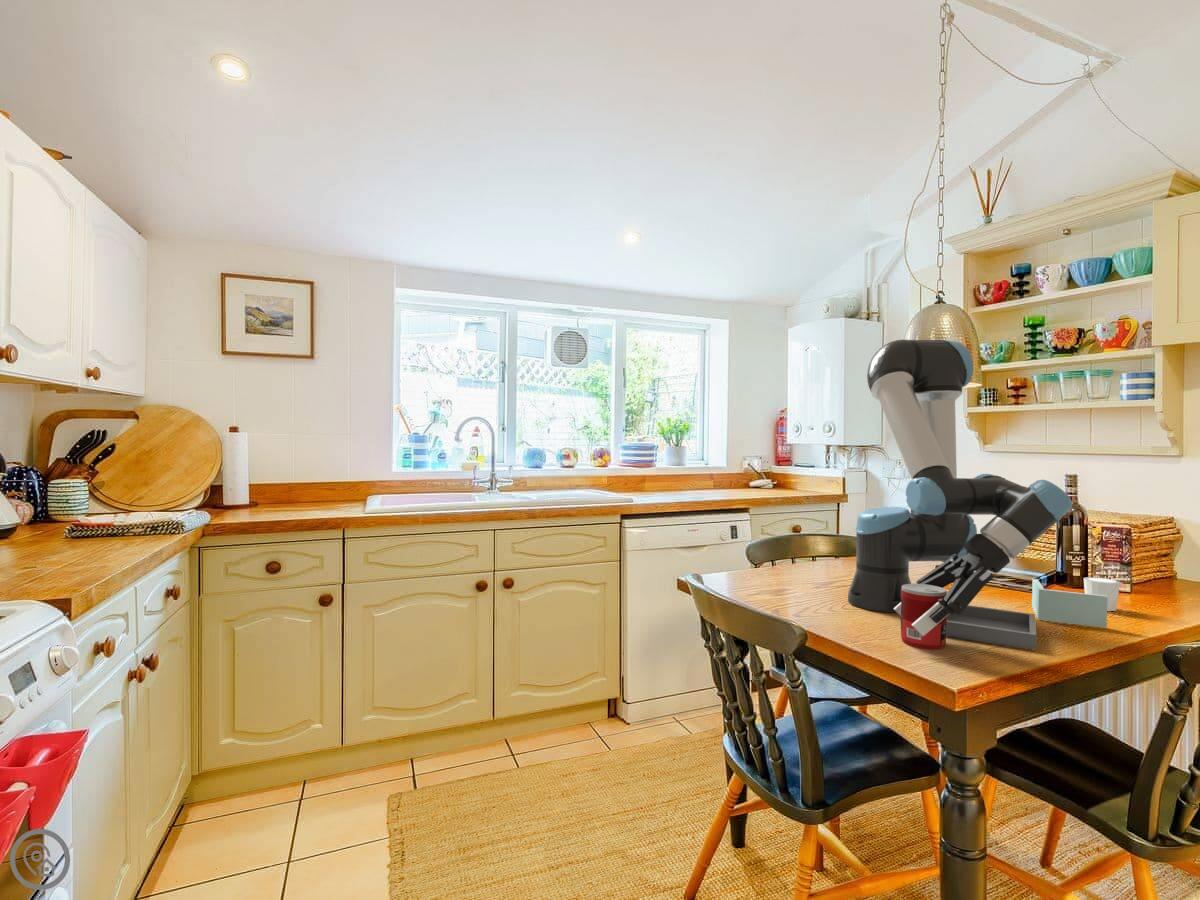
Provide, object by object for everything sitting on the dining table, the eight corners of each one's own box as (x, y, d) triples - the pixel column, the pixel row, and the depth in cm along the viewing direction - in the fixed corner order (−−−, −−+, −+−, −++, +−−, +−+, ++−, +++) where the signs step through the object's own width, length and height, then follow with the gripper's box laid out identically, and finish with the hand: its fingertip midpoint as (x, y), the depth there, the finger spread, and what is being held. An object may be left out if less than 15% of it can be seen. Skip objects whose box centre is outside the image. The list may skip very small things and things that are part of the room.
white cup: (1116, 614, 143) (1117, 584, 143) (1079, 608, 149) (1080, 579, 148) (1122, 609, 148) (1122, 580, 148) (1086, 603, 153) (1086, 575, 153)
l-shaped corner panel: (1106, 631, 133) (1107, 596, 133) (1038, 622, 139) (1039, 589, 139) (1094, 617, 143) (1095, 584, 143) (1031, 609, 149) (1032, 578, 149)
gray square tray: (935, 634, 128) (935, 620, 128) (943, 614, 142) (944, 601, 142) (1036, 650, 119) (1036, 635, 119) (1034, 628, 133) (1034, 614, 133)
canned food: (951, 651, 118) (952, 593, 118) (906, 648, 120) (907, 591, 120) (938, 638, 126) (939, 584, 126) (896, 635, 128) (897, 582, 127)
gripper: (1041, 573, 109) (944, 656, 112) (982, 549, 132) (902, 618, 134) (1009, 541, 110) (913, 625, 112) (955, 523, 132) (877, 593, 135)
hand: (907, 621), depth 123 cm, fingers open, 10 cm apart
